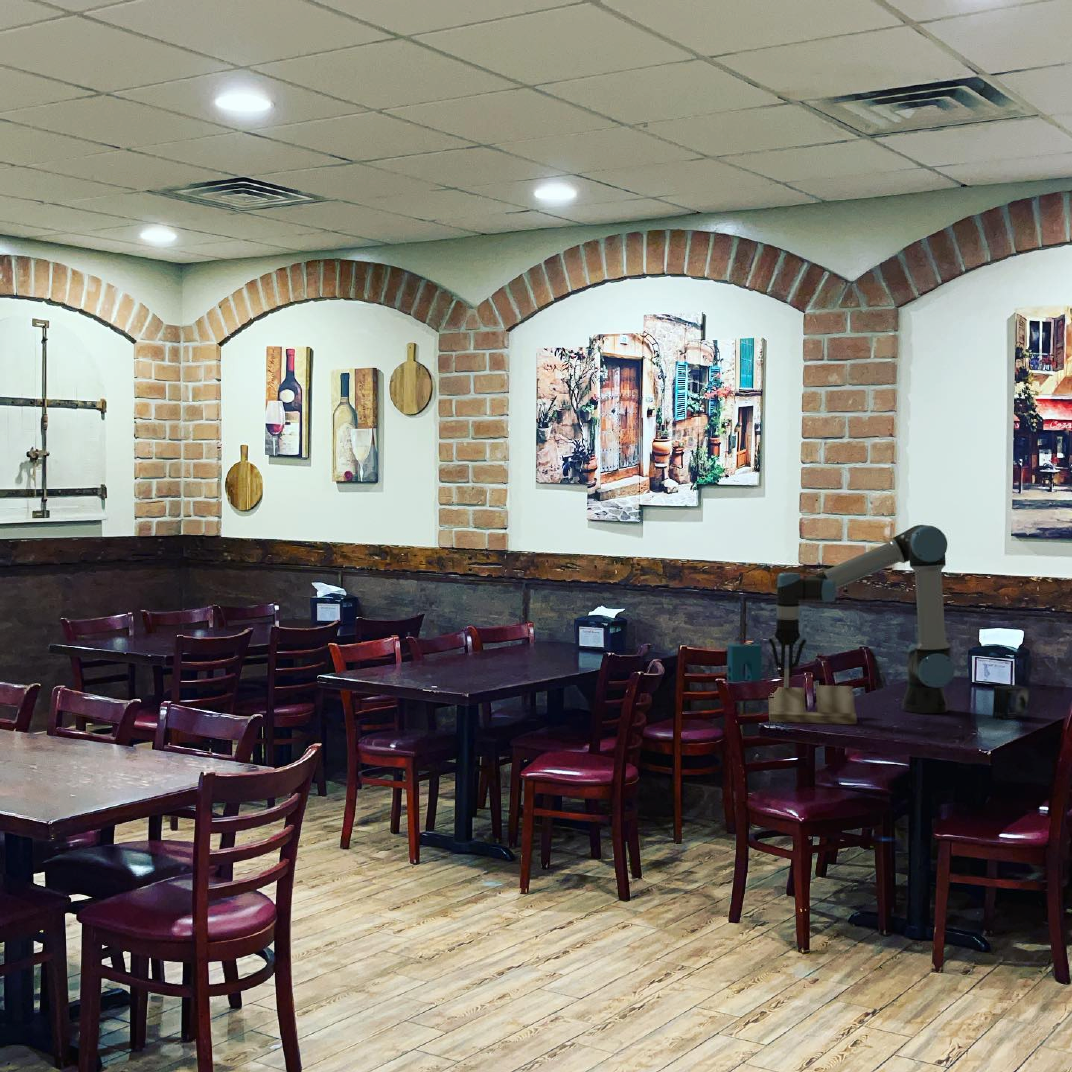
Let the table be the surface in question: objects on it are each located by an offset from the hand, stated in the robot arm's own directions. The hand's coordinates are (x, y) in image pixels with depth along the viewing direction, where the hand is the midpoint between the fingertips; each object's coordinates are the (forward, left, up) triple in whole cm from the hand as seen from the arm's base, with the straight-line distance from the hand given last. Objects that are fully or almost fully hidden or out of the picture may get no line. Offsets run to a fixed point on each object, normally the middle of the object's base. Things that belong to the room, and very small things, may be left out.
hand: (786, 686), depth 463 cm
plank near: (-16, +4, -5) cm, 17 cm away
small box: (-75, -7, -9) cm, 76 cm away
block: (+14, -26, -9) cm, 30 cm away
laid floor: (-8, +14, -9) cm, 18 cm away
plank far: (0, +4, -6) cm, 7 cm away
